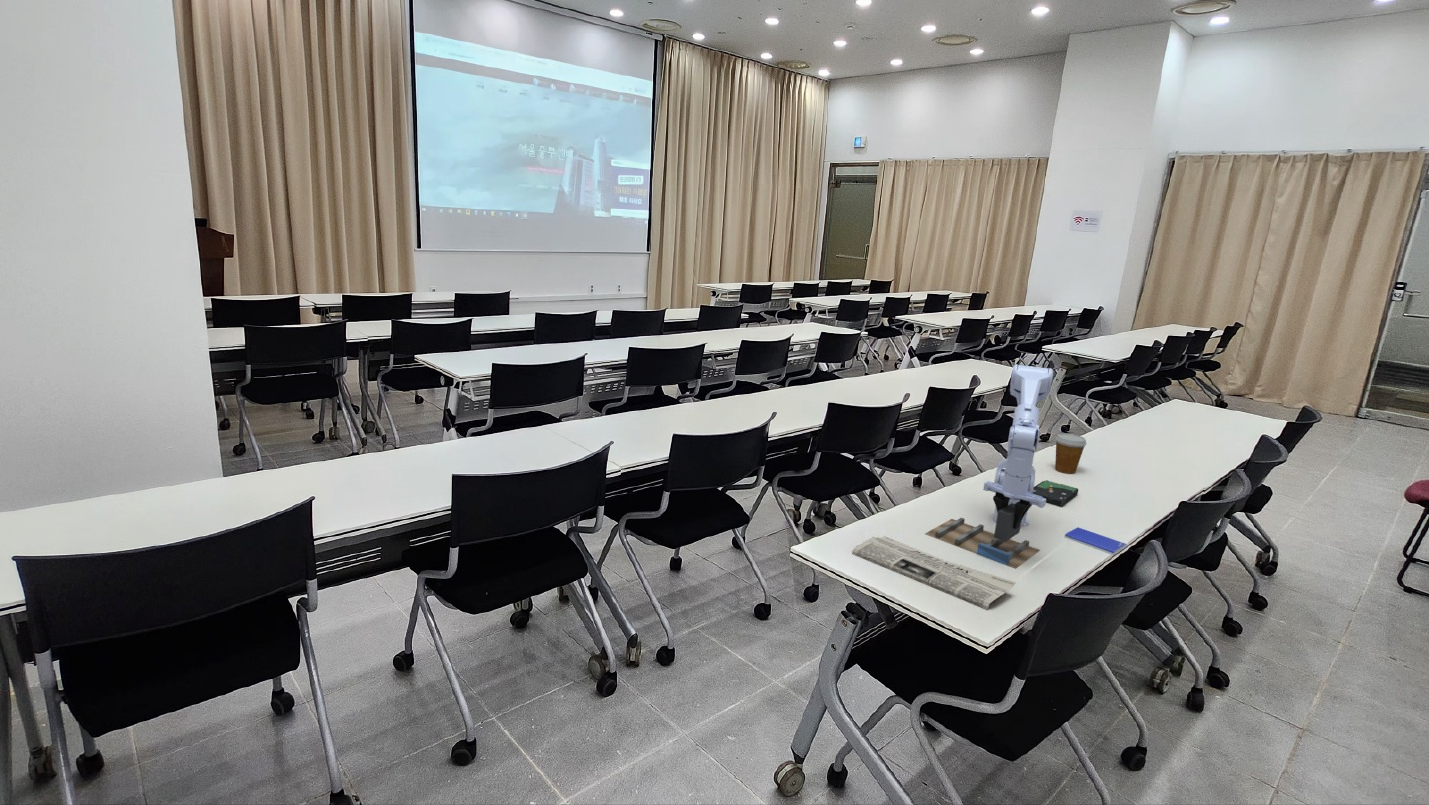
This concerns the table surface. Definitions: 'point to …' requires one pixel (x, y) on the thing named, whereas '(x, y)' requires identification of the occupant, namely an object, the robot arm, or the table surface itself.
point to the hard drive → (1095, 541)
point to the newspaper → (934, 571)
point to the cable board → (983, 542)
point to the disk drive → (1055, 493)
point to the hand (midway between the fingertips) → (1008, 525)
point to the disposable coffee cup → (1068, 452)
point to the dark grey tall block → (1006, 523)
